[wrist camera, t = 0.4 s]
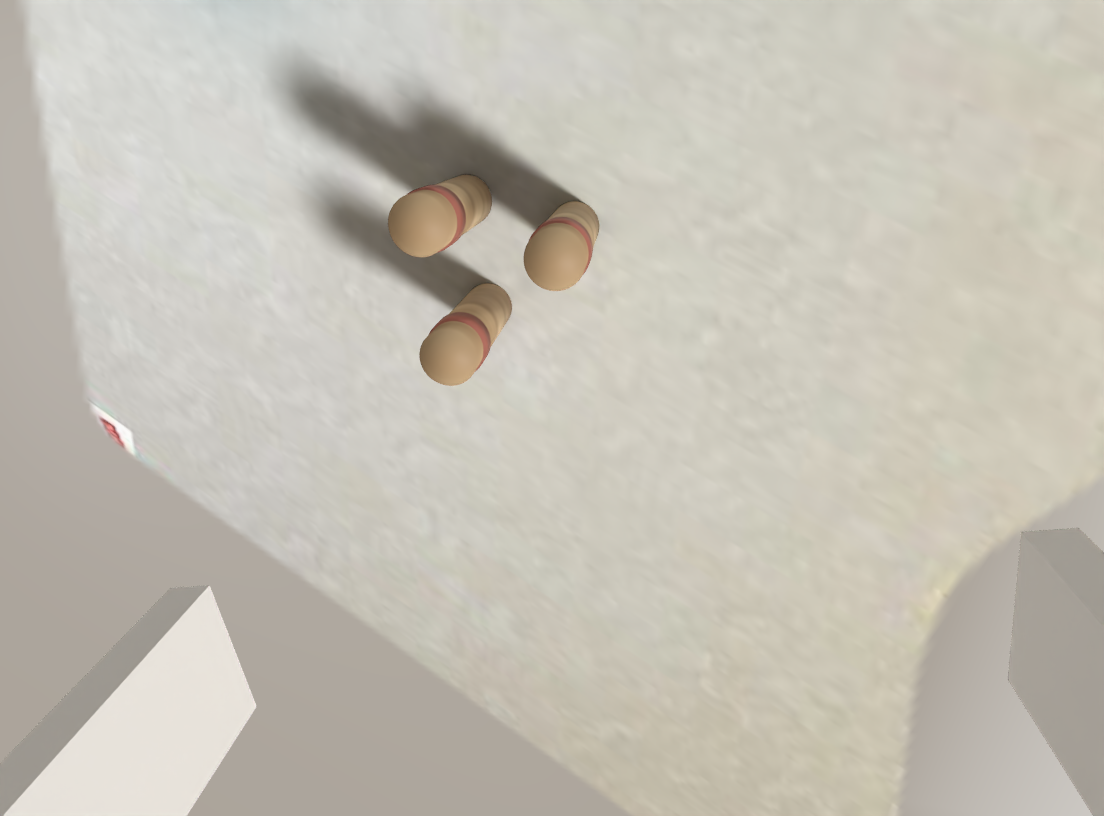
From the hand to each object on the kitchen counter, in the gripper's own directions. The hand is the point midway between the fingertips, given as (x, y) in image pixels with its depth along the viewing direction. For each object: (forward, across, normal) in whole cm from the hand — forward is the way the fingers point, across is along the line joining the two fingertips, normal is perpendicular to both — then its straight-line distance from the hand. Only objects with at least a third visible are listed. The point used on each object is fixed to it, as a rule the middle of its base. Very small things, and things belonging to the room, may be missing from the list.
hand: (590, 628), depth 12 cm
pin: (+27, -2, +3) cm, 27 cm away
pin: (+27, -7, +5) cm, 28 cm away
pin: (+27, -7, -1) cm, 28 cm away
